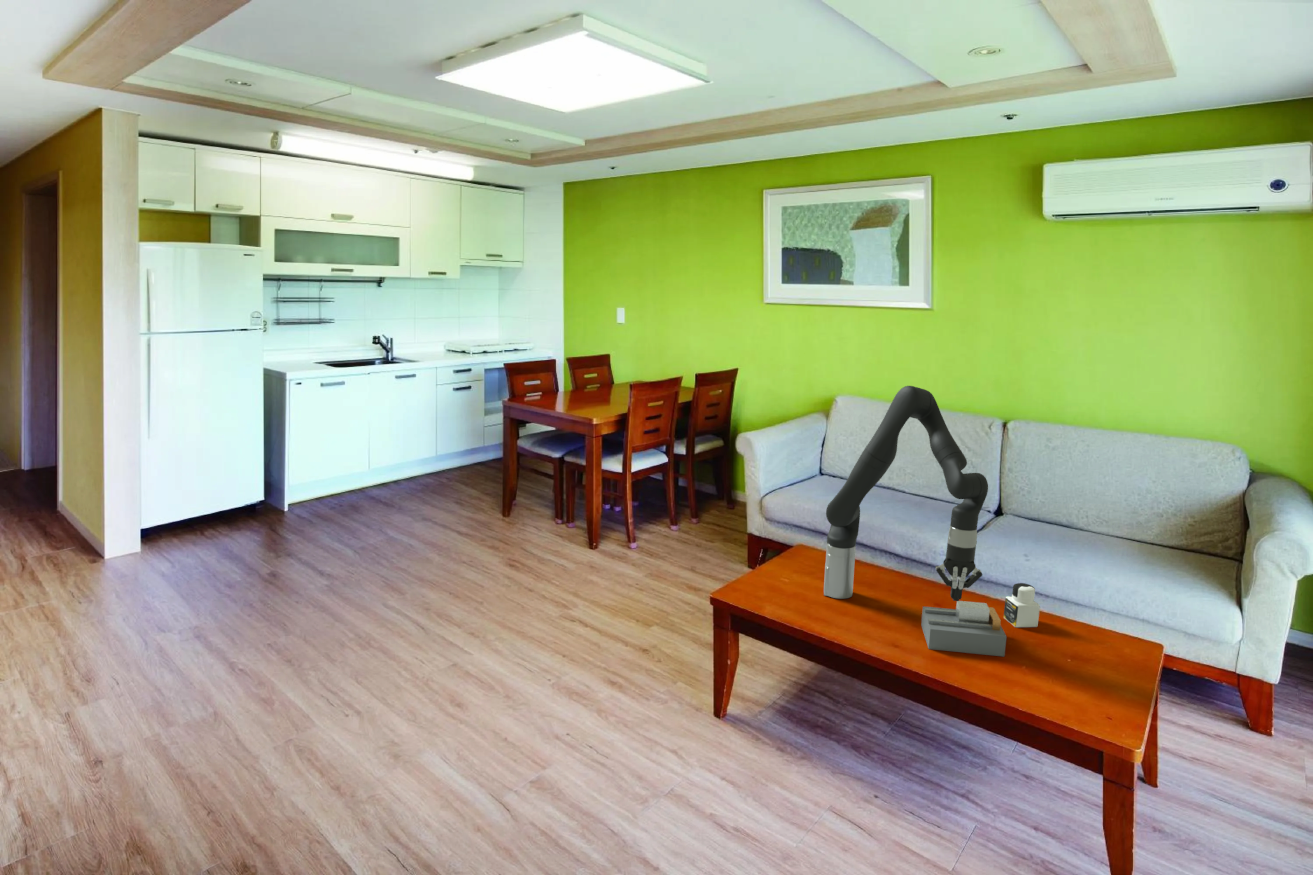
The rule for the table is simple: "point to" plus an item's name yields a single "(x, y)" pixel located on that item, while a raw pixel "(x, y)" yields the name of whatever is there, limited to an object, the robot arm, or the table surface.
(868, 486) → the robot arm
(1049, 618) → the table surface
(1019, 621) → the medicine bottle
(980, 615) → the aluminium block
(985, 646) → the channel stand
